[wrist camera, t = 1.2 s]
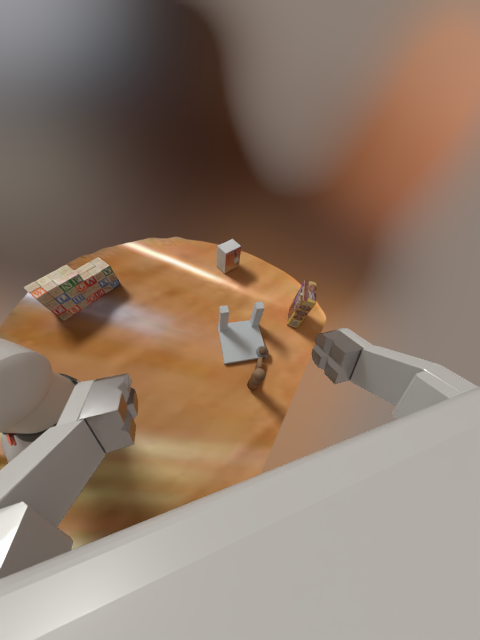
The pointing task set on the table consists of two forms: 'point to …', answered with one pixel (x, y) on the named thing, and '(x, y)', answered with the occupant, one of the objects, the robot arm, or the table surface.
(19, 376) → the robot arm
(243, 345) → the white lever base
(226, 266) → the small box
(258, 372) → the brown crank handle
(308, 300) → the candy box
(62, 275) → the stack of blocks
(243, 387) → the table surface
